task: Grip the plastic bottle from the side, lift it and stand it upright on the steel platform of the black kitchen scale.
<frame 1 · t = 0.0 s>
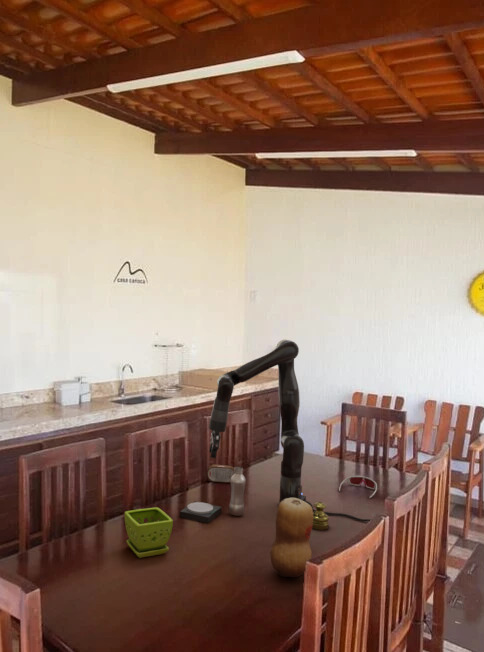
hand: (212, 455, 239), 22 cm above the table, tool pointing down, fingers open, 8 cm apart
sunglasses: (359, 490, 268), on the table
tin: (221, 482, 273), on the table
butternut squash: (290, 575, 178), on the table
golden figurine: (318, 527, 220), on the table
flower pot: (147, 551, 192), on the table
plastic bottle: (236, 515, 229), on the table
kitchen scale: (201, 514, 228), on the table
drinking cup: (294, 545, 202), on the table
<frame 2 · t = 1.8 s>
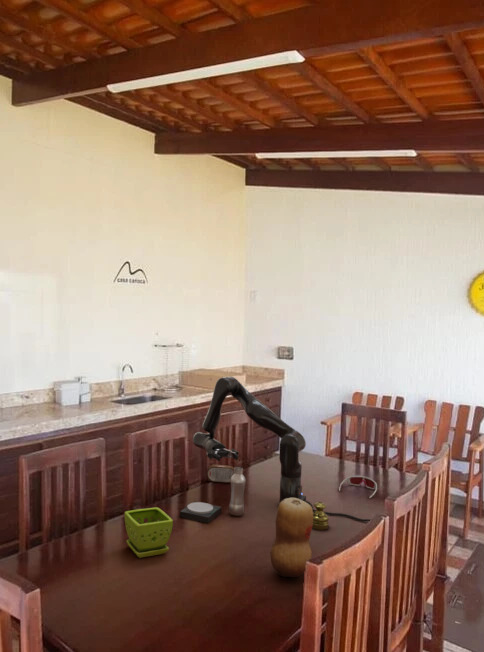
hand: (228, 458, 239), 21 cm above the table, tool horizontal, fingers open, 8 cm apart
nothing on the table moved.
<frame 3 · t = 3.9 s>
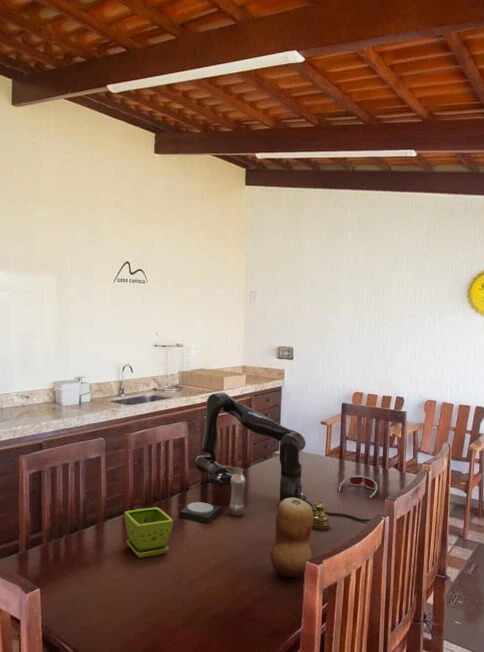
hand: (231, 483, 236), 11 cm above the table, tool horizontal, fingers open, 8 cm apart
nothing on the table moved.
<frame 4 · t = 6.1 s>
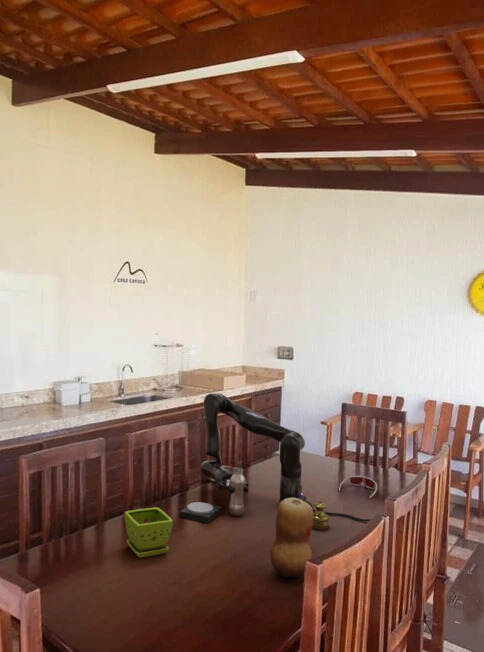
hand: (239, 490, 227), 11 cm above the table, tool horizontal, fingers closed on plastic bottle, 6 cm apart
plastic bottle: (236, 515, 229), on the table, touching gripper
everything else where it was.
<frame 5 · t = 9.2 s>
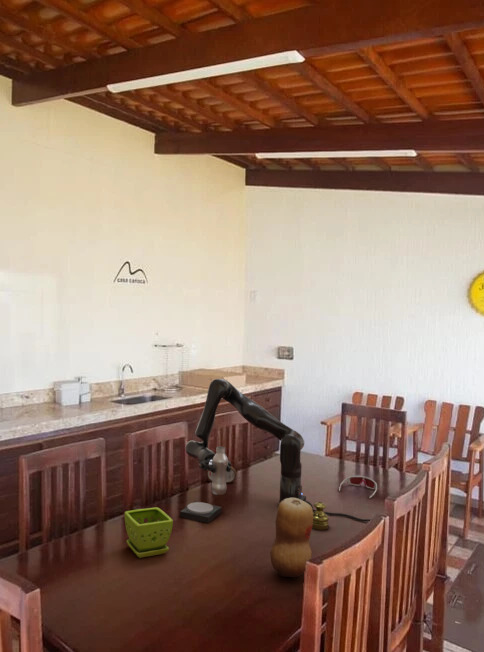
hand: (221, 470, 226), 20 cm above the table, tool horizontal, fingers closed on plastic bottle, 6 cm apart
plastic bottle: (218, 494, 229), point 9 cm above the table, touching gripper
everything else where it was.
when the fingers open (14 cm above the table, at t = 12.2 s): plastic bottle stays where it is, resting on kitchen scale.
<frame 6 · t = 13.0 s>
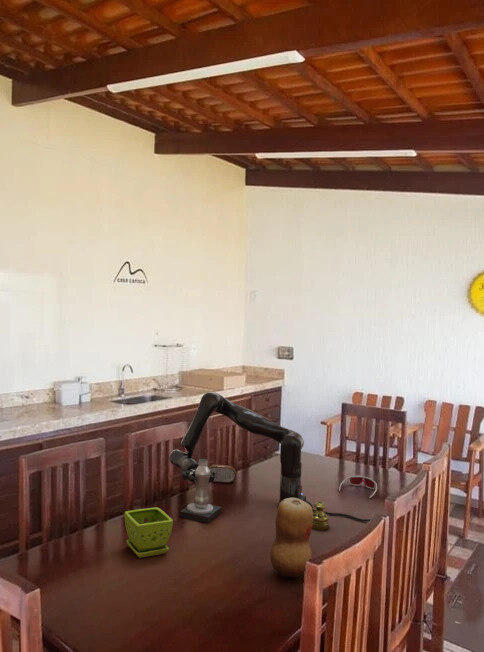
hand: (203, 480, 226), 15 cm above the table, tool horizontal, fingers open, 8 cm apart
plastic bottle: (201, 507, 228), point 3 cm above the table, touching kitchen scale
everything else where it was.
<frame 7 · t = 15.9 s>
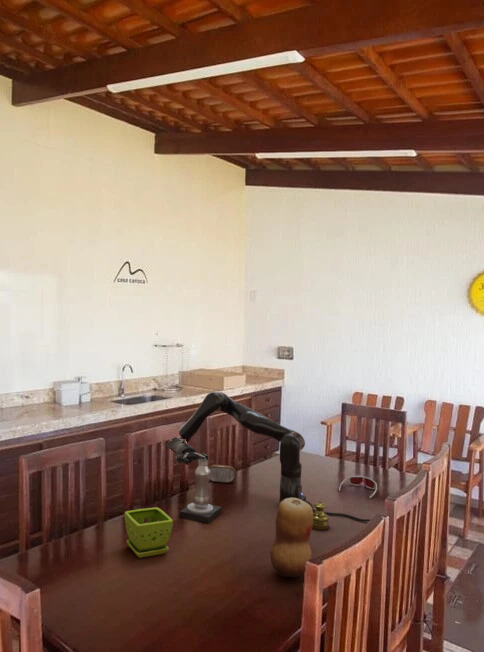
hand: (197, 462, 238), 19 cm above the table, tool horizontal, fingers open, 8 cm apart
nothing on the table moved.
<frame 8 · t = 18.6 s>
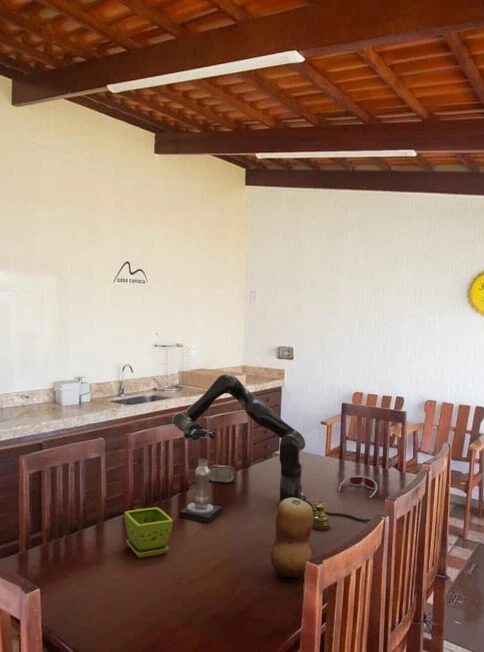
hand: (204, 437, 239), 30 cm above the table, tool horizontal, fingers open, 8 cm apart
nothing on the table moved.
at the end: plastic bottle inside the target area on the kitchen scale (0.4 cm from its centre), point 3.0 cm above the kitchen scale's base; plastic bottle tilted 0°; the gripper is holding nothing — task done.
